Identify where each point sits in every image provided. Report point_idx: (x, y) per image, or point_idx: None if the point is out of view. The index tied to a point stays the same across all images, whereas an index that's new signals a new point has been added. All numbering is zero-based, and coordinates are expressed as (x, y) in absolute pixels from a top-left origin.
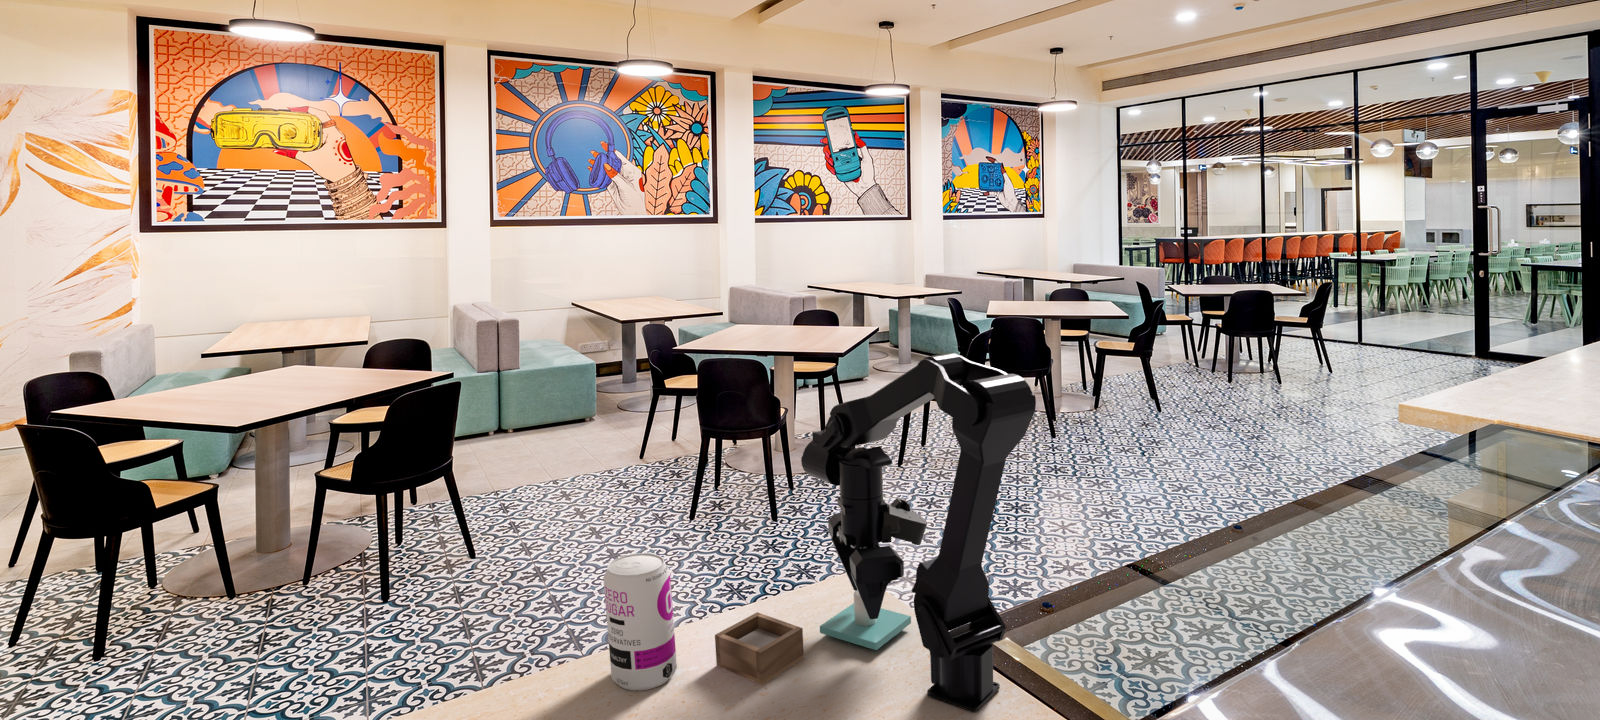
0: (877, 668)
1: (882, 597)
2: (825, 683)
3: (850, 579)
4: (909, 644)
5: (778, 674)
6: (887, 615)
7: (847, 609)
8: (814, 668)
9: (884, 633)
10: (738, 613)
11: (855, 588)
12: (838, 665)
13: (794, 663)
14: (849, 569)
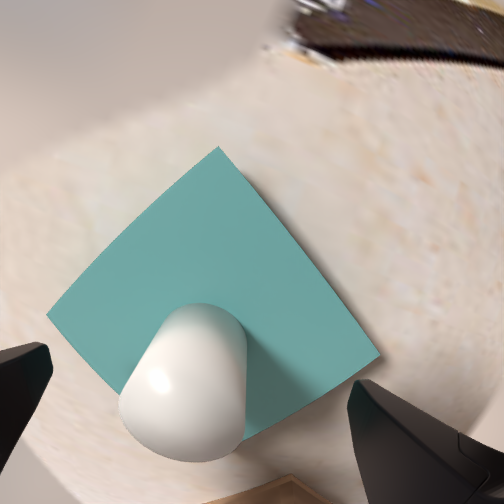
0: (419, 345)
1: (458, 437)
2: None
3: (30, 414)
4: (336, 204)
5: (329, 501)
6: (177, 244)
7: (98, 365)
8: (343, 461)
9: (330, 309)
10: (71, 488)
11: (47, 372)
12: None
13: (307, 487)
14: (1, 441)
